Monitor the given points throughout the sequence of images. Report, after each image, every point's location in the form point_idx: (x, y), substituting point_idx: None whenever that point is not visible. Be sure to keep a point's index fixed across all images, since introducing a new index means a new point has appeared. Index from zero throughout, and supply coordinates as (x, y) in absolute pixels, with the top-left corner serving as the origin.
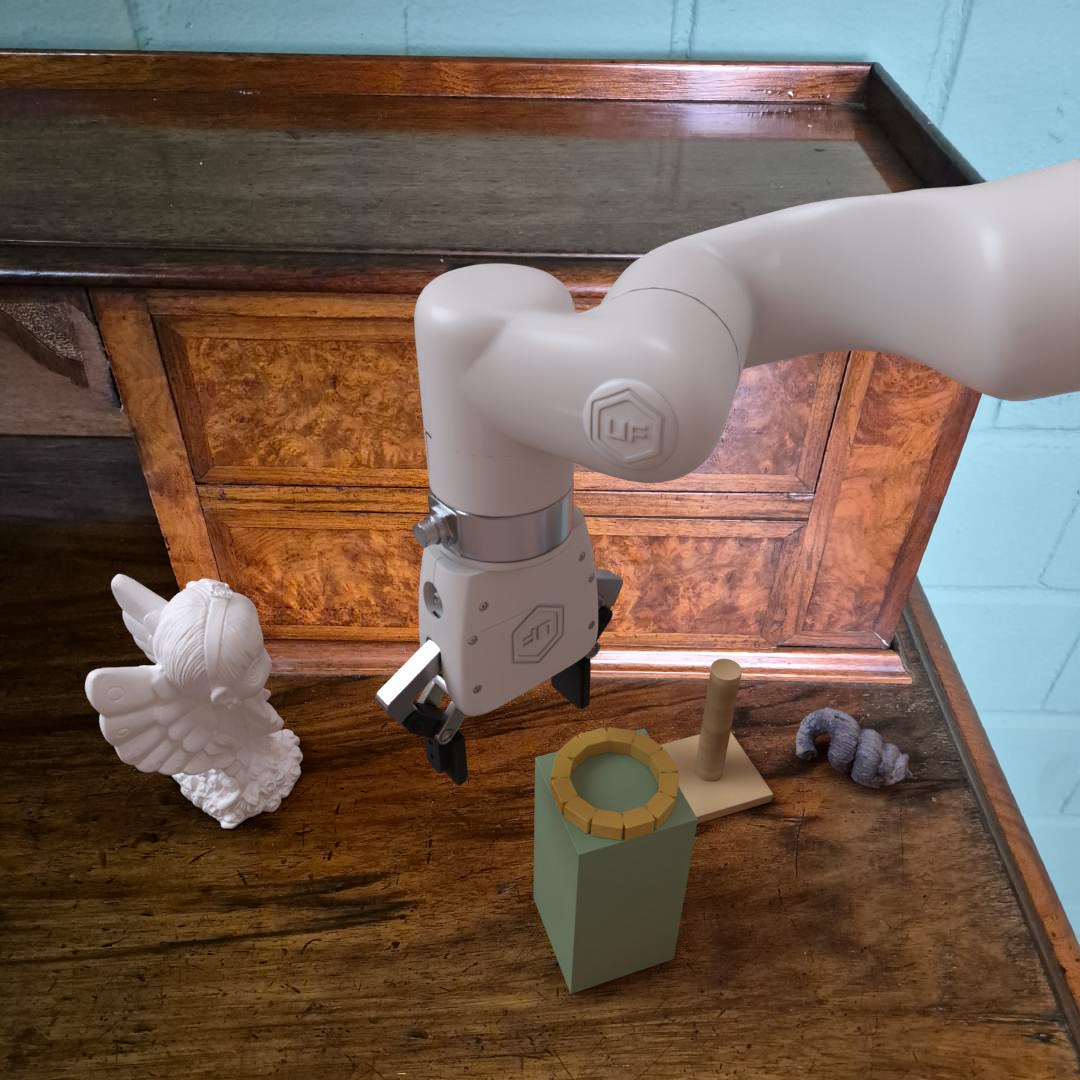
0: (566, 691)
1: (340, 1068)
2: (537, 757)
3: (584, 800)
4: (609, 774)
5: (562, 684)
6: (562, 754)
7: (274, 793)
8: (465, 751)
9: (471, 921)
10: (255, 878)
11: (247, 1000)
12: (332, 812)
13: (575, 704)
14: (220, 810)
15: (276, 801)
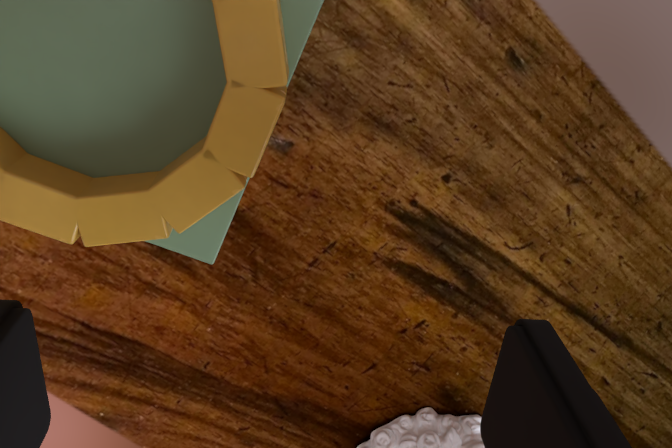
0: (26, 386)
1: (606, 93)
2: (208, 261)
3: (223, 55)
4: (74, 92)
5: (22, 416)
6: (163, 222)
7: (421, 427)
8: (562, 418)
9: (351, 136)
10: None
11: (611, 235)
12: (378, 368)
13: (30, 329)
14: None
15: (423, 416)
